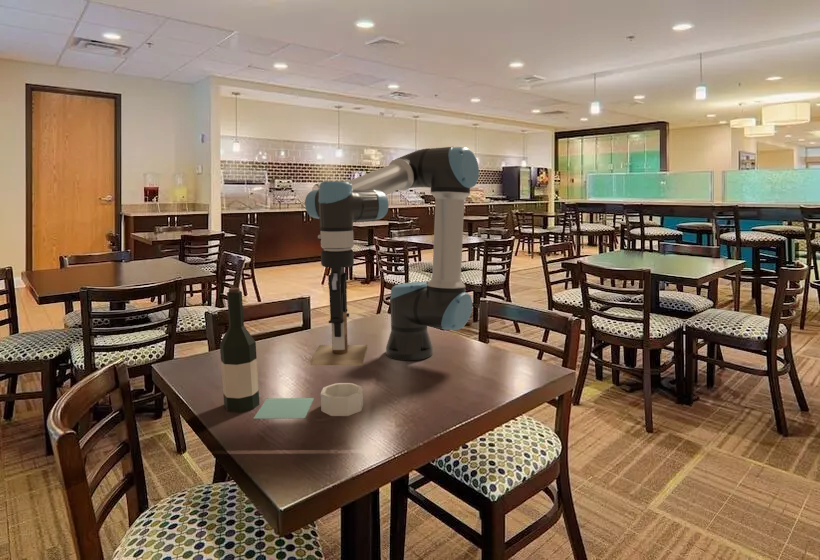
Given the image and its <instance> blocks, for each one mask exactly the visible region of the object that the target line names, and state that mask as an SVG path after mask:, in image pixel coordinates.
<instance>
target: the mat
mask: <svg viewBox="0 0 820 560" xmlns="http://www.w3.org/2000/svg"><path fill="white" fill-rule="evenodd" d="M314 399H315V397H279V398H278V397H269V398H266V399H265V400H264V402H263V404H262V405H261V406H260V408H259V410H258V411H257V412H256V414H255V415H254V417H253V420H254V419H255V420H256V419H262V420H264V419H273V420H275V419H305V418H306V417H307V414H308V413H309V411H310V408H311V406H312V404H313V401H314Z"/></svg>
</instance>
